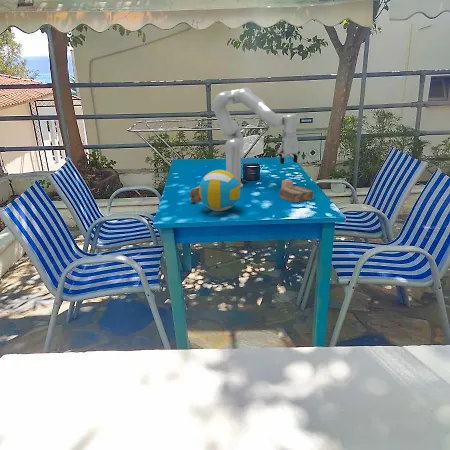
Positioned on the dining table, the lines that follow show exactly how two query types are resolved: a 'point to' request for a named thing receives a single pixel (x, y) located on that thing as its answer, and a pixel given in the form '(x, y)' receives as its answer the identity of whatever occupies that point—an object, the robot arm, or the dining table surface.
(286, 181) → the terracotta block
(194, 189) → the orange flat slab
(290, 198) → the walnut block
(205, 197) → the volleyball
